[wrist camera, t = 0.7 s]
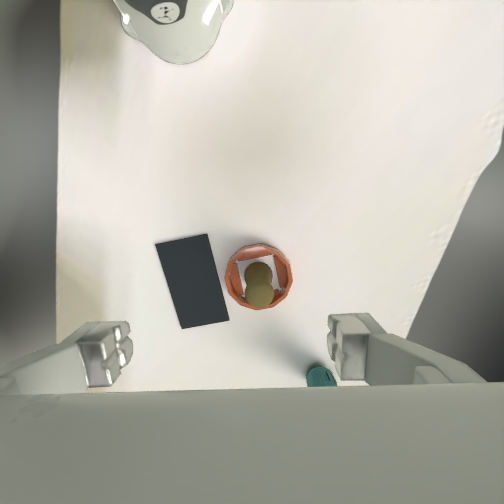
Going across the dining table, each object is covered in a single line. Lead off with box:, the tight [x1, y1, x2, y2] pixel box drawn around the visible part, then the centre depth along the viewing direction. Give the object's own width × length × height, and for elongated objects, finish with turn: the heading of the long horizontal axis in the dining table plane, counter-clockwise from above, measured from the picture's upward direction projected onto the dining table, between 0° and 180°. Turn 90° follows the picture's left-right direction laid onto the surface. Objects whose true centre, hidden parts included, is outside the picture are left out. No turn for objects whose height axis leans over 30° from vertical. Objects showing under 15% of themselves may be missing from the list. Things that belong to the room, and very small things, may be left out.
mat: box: [156, 234, 229, 329], centre depth 54 cm, size 20×11×1 cm, turn 12°
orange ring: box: [225, 244, 293, 310], centre depth 53 cm, size 14×14×2 cm
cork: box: [244, 262, 274, 308], centre depth 48 cm, size 6×6×11 cm
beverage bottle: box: [306, 367, 337, 387], centre depth 50 cm, size 6×7×20 cm
